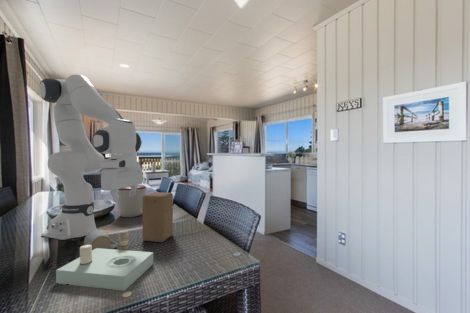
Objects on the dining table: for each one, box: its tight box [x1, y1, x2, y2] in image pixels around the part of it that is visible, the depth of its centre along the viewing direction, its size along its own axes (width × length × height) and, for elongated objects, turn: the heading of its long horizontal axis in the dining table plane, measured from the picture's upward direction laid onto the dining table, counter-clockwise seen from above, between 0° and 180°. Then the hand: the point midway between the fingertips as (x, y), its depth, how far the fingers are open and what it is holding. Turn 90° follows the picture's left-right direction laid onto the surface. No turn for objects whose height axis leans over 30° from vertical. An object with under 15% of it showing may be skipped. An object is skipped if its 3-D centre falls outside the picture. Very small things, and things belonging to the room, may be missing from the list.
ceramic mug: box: [83, 229, 118, 250], centre depth 93 cm, size 11×8×8 cm
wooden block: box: [141, 191, 174, 243], centre depth 106 cm, size 10×10×20 cm
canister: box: [117, 184, 148, 218], centre depth 144 cm, size 18×18×21 cm
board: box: [55, 244, 154, 291], centre depth 75 cm, size 22×16×9 cm
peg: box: [118, 229, 129, 250], centre depth 88 cm, size 3×3×9 cm
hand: (124, 199), depth 88 cm, fingers open, 8 cm apart
